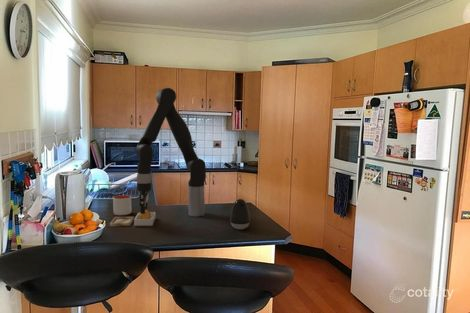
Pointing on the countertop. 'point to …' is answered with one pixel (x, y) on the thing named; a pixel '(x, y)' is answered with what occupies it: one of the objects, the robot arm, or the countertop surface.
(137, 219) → the bin
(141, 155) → the robot arm
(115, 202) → the cup
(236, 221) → the black tapered speaker
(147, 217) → the ball
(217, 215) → the countertop surface
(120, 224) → the tray
